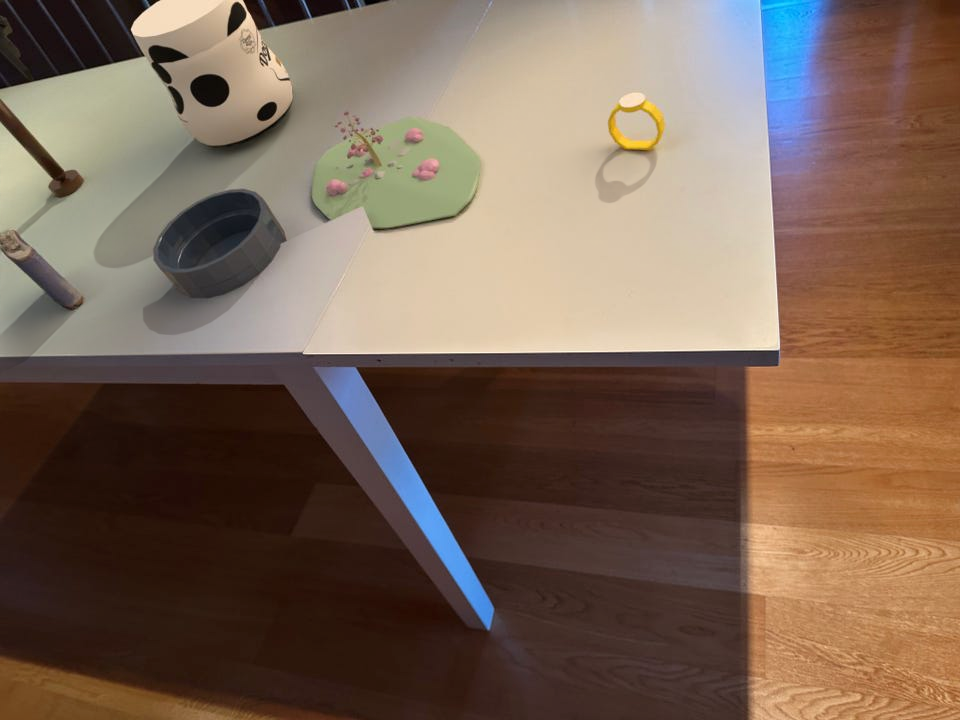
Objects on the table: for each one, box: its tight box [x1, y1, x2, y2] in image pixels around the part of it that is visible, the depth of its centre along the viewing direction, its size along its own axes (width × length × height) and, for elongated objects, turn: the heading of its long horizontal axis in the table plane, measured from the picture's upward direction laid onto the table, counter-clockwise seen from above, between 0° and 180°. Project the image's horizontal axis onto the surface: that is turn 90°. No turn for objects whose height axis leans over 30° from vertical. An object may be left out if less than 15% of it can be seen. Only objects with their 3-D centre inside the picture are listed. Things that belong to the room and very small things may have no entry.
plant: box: [311, 110, 482, 230], centre depth 81 cm, size 25×21×9 cm
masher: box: [0, 98, 85, 198], centre depth 100 cm, size 5×5×20 cm
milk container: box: [130, 0, 294, 148], centre depth 97 cm, size 17×17×18 cm
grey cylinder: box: [0, 229, 84, 310], centre depth 84 cm, size 9×3×11 cm, turn 47°
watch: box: [607, 92, 666, 152], centre depth 73 cm, size 6×3×6 cm, turn 61°
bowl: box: [152, 188, 288, 299], centre depth 79 cm, size 14×14×6 cm
